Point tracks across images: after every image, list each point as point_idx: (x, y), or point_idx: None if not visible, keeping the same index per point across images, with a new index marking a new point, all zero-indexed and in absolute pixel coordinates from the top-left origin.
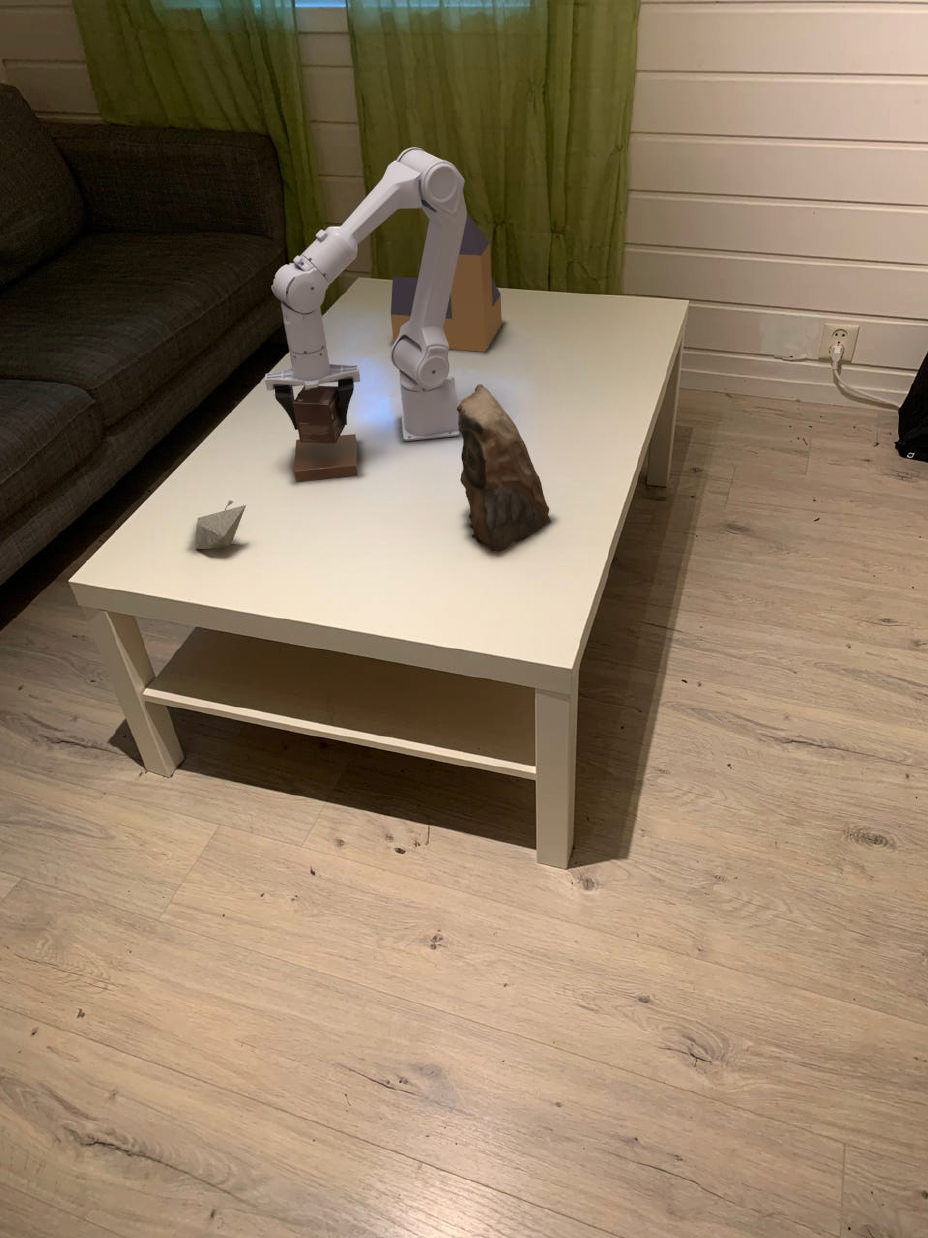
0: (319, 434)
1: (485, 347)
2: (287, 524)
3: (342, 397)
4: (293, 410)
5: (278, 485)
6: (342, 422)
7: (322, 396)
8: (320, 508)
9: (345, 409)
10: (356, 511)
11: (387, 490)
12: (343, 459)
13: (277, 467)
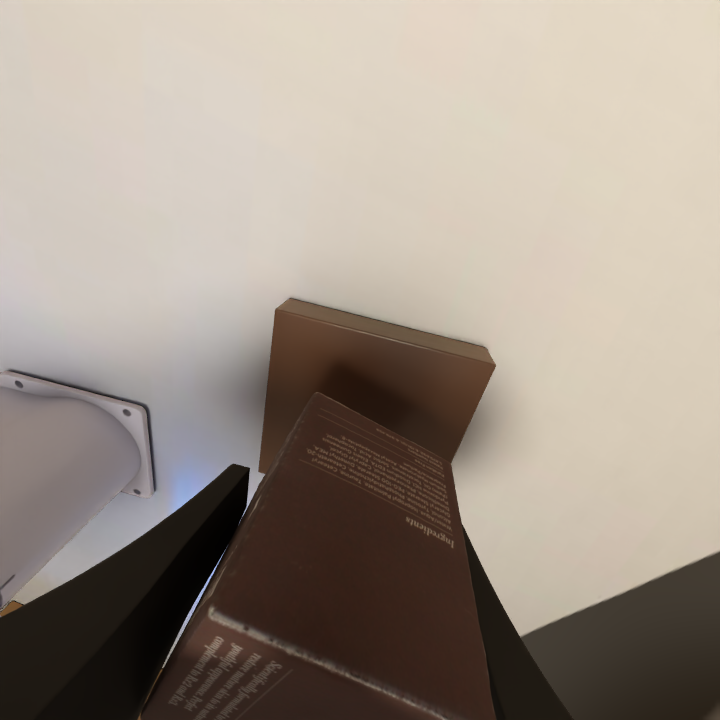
0: (366, 448)
1: (4, 610)
2: (653, 35)
3: (78, 633)
4: (486, 649)
5: (547, 352)
6: (240, 476)
7: (251, 698)
8: (467, 125)
9: (166, 529)
10: (333, 27)
11: (200, 155)
12: (312, 361)
13: (507, 442)
